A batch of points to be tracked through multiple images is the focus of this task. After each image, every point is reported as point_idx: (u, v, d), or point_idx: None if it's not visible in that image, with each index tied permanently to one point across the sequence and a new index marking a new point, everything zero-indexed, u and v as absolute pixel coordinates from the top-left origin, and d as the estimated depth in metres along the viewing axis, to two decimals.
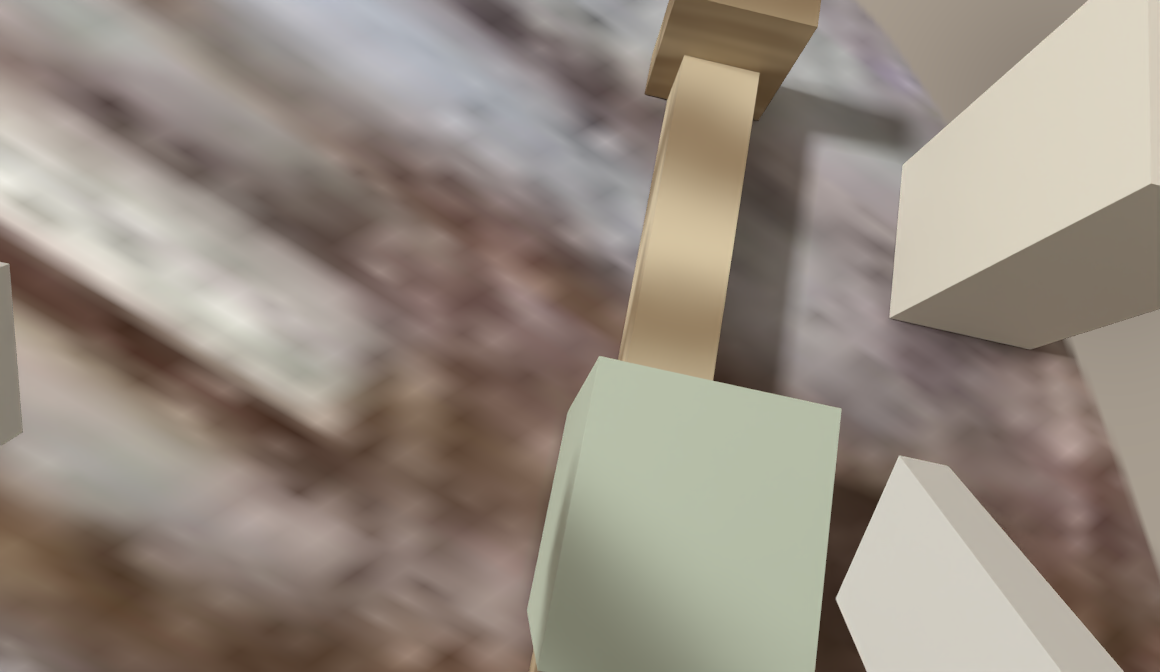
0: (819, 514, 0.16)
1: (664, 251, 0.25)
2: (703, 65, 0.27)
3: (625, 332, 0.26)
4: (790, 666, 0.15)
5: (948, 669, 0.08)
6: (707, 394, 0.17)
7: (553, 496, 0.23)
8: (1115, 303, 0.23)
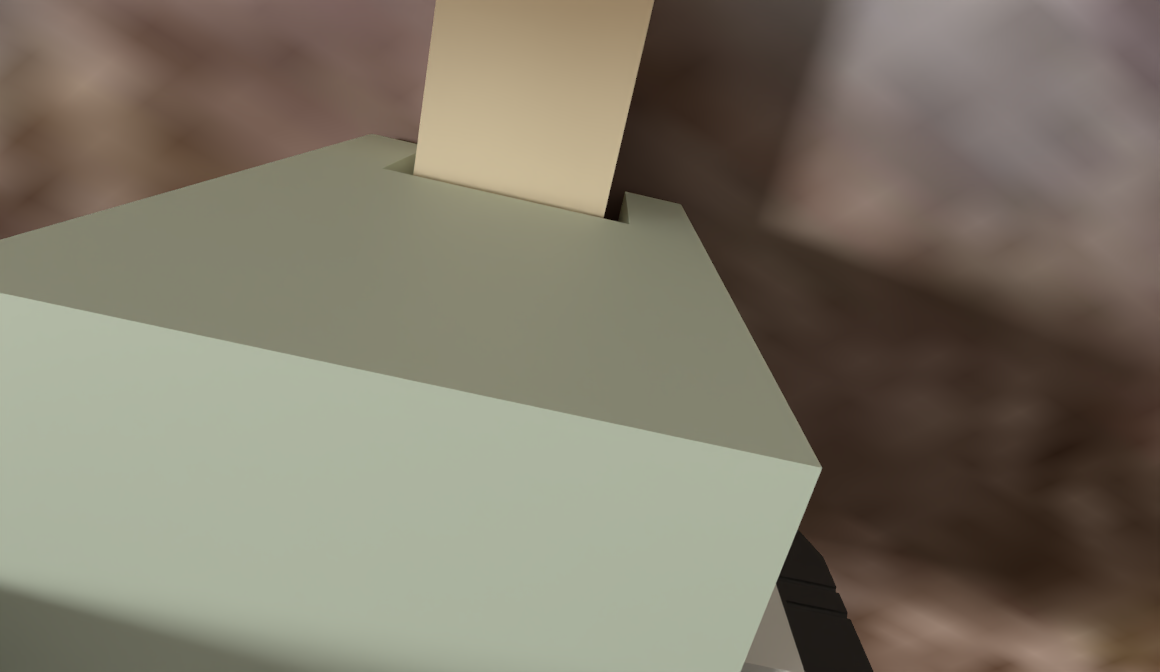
0: None
1: None
2: None
3: None
4: None
5: None
6: (323, 410, 0.05)
7: None
8: None
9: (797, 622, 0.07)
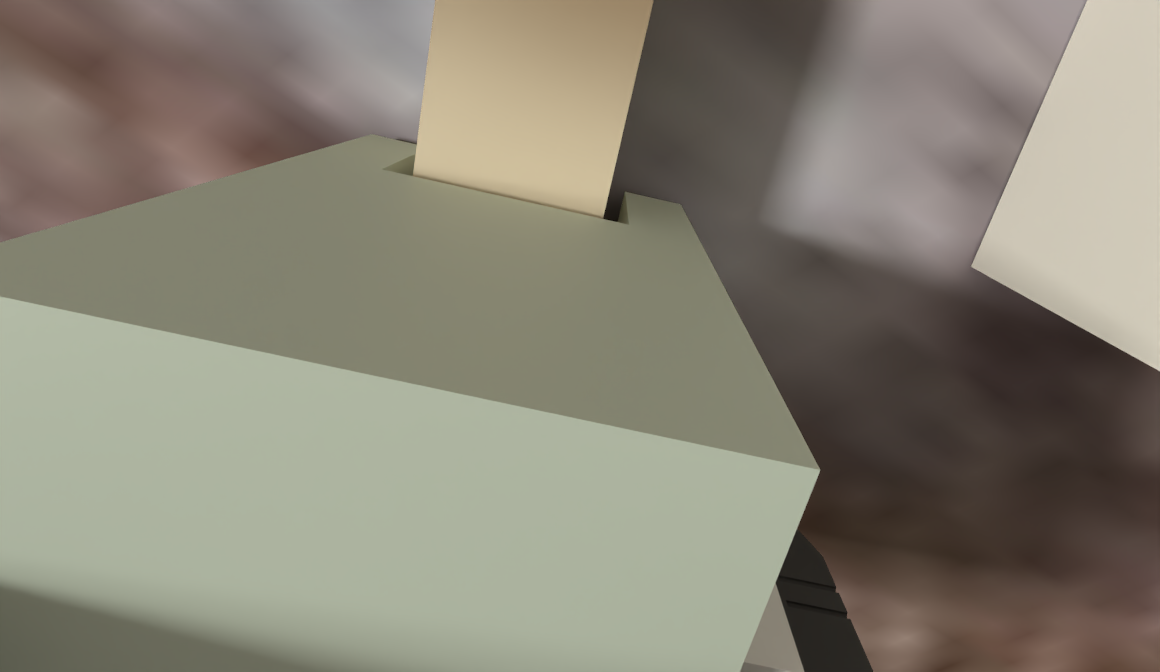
0: None
1: None
2: None
3: None
4: None
5: None
6: (322, 412, 0.05)
7: None
8: None
9: (797, 622, 0.07)
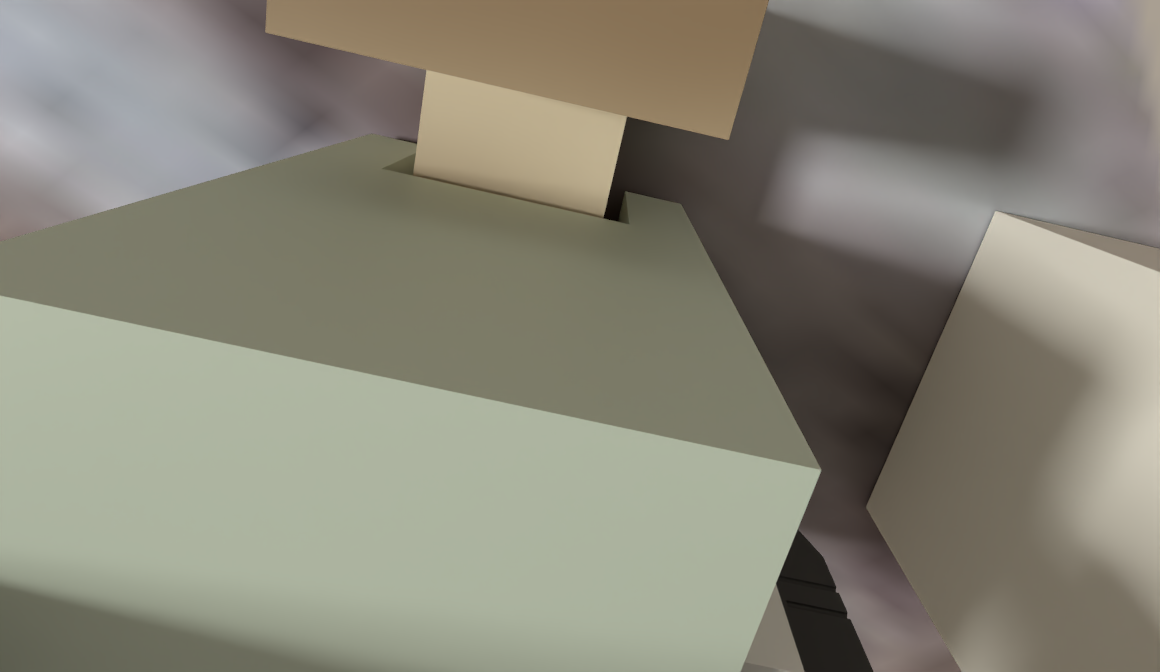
0: None
1: None
2: (479, 88, 0.10)
3: None
4: None
5: None
6: (322, 412, 0.05)
7: None
8: None
9: (797, 623, 0.07)
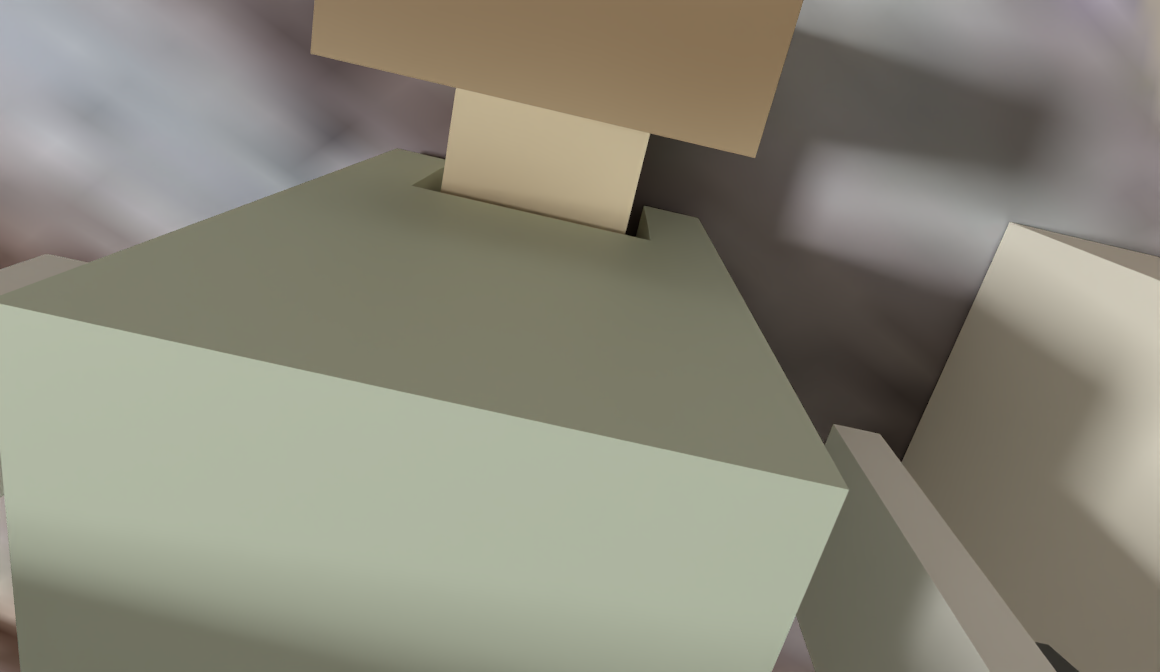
0: None
1: None
2: (507, 103, 0.11)
3: None
4: None
5: (864, 617, 0.09)
6: (380, 432, 0.05)
7: None
8: None
9: None
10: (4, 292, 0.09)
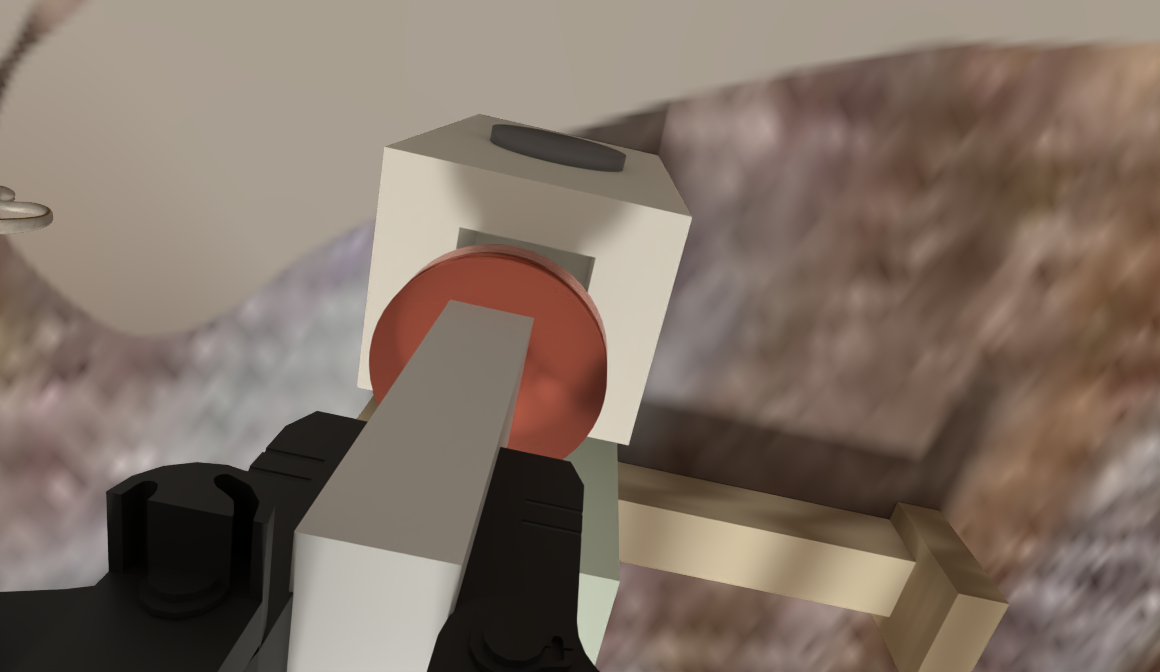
0: None
1: None
2: None
3: None
4: (583, 588, 0.22)
5: None
6: None
7: None
8: None
9: (522, 537, 0.08)
10: (466, 337, 0.11)
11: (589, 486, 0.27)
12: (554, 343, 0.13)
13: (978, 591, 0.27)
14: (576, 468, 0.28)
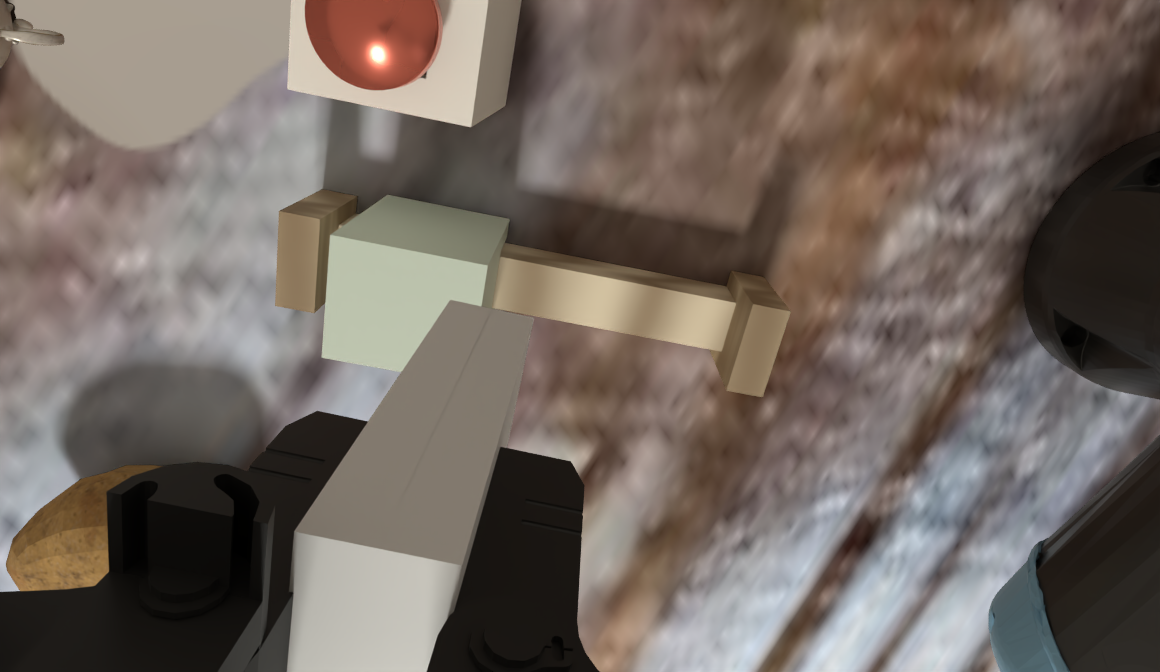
0: (388, 251, 0.31)
1: None
2: None
3: None
4: (462, 272, 0.31)
5: None
6: (333, 305, 0.32)
7: None
8: (508, 4, 0.31)
9: (522, 537, 0.08)
10: (466, 337, 0.11)
11: (479, 234, 0.36)
12: None
13: (769, 305, 0.36)
14: (471, 227, 0.37)
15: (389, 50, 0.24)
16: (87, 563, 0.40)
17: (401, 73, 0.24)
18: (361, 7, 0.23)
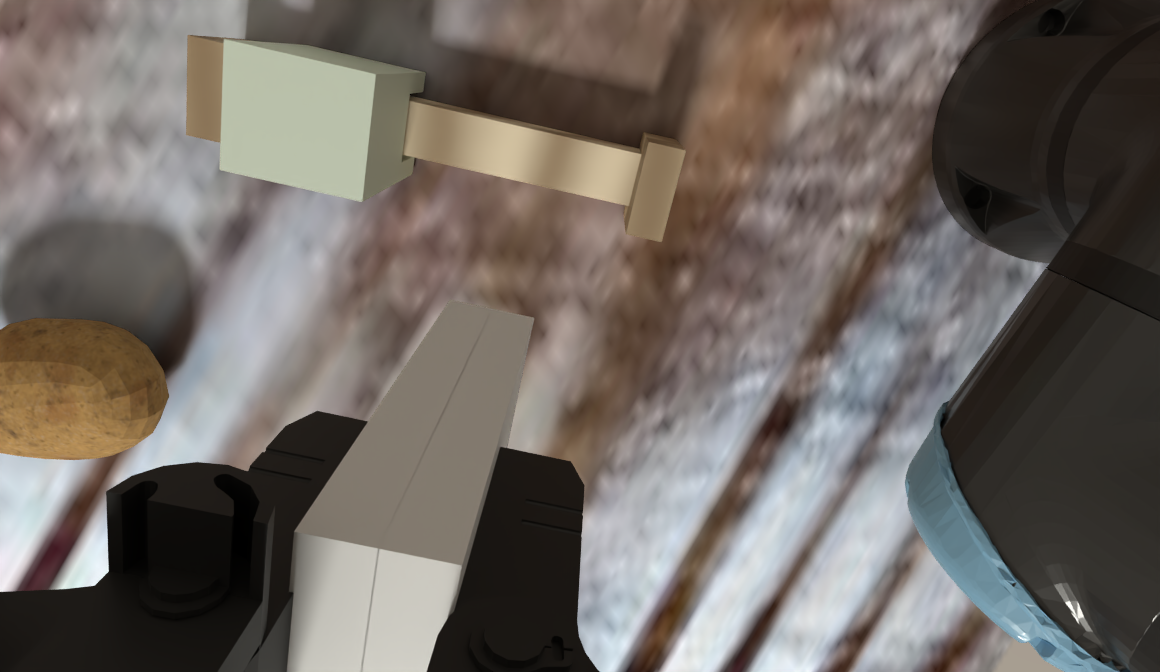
0: (279, 58, 0.32)
1: None
2: None
3: None
4: (351, 81, 0.32)
5: None
6: (229, 114, 0.33)
7: None
8: None
9: (523, 537, 0.08)
10: (466, 337, 0.11)
11: (383, 68, 0.37)
12: None
13: (666, 145, 0.37)
14: (379, 66, 0.38)
15: None
16: (7, 398, 0.41)
17: None
18: None
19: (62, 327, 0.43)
